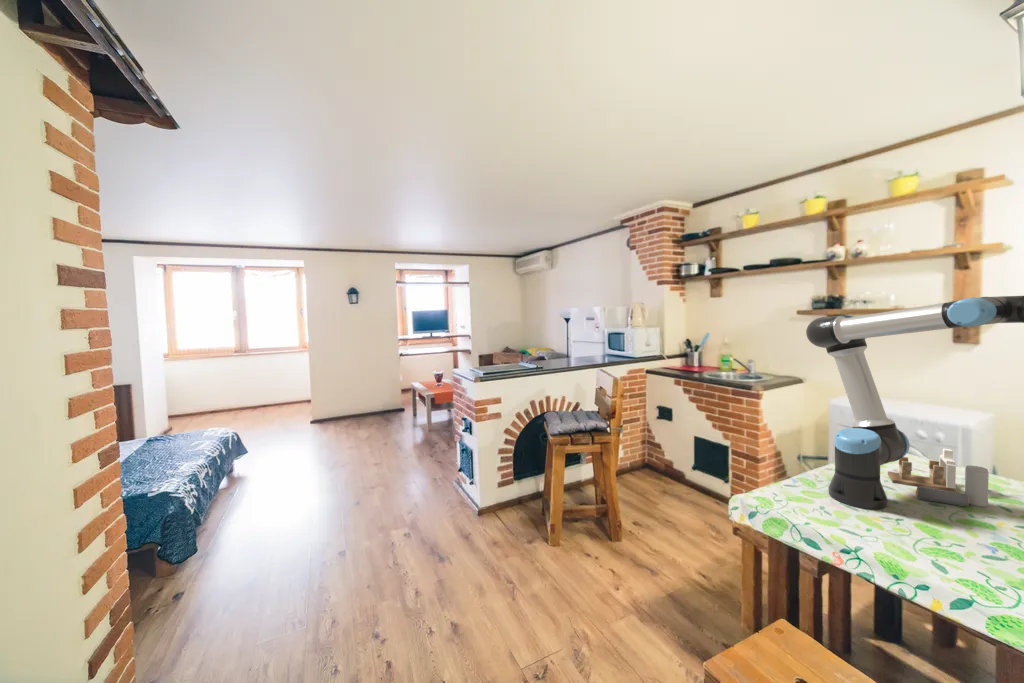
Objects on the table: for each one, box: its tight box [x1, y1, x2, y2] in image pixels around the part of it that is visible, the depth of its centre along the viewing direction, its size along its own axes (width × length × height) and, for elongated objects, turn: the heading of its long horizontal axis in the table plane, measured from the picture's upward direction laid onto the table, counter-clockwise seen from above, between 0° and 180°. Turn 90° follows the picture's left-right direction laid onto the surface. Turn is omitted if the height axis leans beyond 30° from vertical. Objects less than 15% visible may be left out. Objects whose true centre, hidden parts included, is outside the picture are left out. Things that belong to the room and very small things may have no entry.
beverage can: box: [964, 464, 990, 508], centre depth 125 cm, size 5×5×12 cm
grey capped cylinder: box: [915, 486, 970, 508], centre depth 128 cm, size 12×4×4 cm
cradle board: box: [887, 456, 958, 493], centre depth 141 cm, size 16×9×8 cm, turn 54°
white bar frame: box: [939, 448, 957, 489], centre depth 137 cm, size 2×9×12 cm, turn 143°
